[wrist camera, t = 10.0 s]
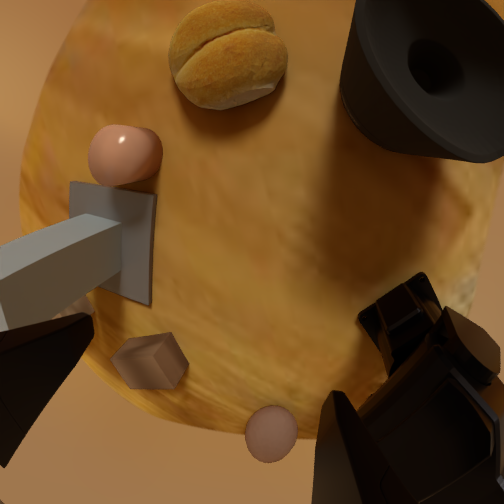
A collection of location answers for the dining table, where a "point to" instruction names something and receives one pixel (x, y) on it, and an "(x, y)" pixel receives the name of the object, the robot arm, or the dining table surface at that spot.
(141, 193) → the coaster
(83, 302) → the beech cube
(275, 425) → the mauve oval ball
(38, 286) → the tall block
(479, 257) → the dining table surface
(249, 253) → the dining table surface
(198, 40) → the bread roll
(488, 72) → the pen holder
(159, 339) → the walnut brick
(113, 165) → the pink rounded pebble
